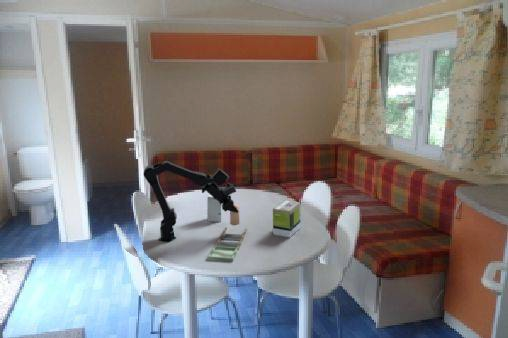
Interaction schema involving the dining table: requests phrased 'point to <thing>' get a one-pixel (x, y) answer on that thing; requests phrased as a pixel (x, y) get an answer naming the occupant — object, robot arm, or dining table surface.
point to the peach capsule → (234, 216)
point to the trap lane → (226, 247)
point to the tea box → (286, 218)
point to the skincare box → (214, 210)
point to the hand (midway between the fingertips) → (237, 210)
